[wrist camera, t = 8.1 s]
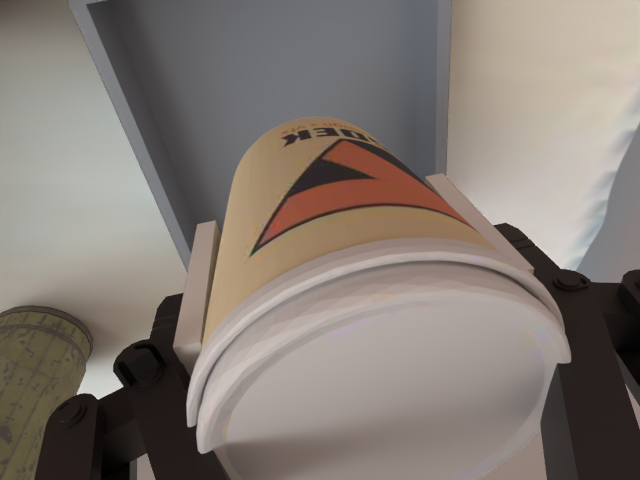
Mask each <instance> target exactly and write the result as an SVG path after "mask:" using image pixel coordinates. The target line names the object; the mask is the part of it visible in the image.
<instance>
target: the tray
mask: <svg viewBox="0 0 640 480" xmlns="http://www.w3.org/2000/svg"><path fill="white" fill-rule="evenodd" d="M67 2H68V4H69V7H70V9H71V11H72V13H73V16H74V18H75V20H76V22H77V25H78V27H79V29H80V31H81V34H82V36H83V38H84V40H85V43H86V45H87V47H88V49H89V52H90V54H91V56H92V58H93V61H94V63H95V65H96V67H97V70H98V72H99V74H100V77H101V79H102V81H103V83H104V86H105V88H106V90H107V92H108V95H109V97H110V99H111V101H112V104H113V106H114V108H115V110H116V113H117V115H118V117H119V119H120V122H121V124H122V126H123V128H124V131H125V133H126V135H127V137H128V140H129V142H130V144H131V147H132V149H133V151H134V153H135V156H136V158H137V160H138V162H139V165H140V167H141V169H142V171H143V174H144V176H145V178H146V180H147V183H148V185H149V187H150V189H151V192H152V194H153V196H154V198H155V201H156V203H157V205H158V207H159V210H160V212H161V214H162V217H163V219H164V221H165V223H166V226H167V228H168V230H169V232H170V235H171V237H172V239H173V241H174V244H175V246H176V248H177V250H178V253H179V255H180V257H181V259H182V262H183V264H184V266H185V268H186V271H187V273H188V268H189V263H190V258H191V253H192V248H193V243H194V238H195V233H196V228H197V224H200V223H205V222H210V221H215V220H216V223H217V226H218V229H219V232H220V234H221V237H222V231H223V226H224V221H225V216H226V211H227V205H228V200H229V195H230V191H231V187H232V182H233V179H234V175H235V172H236V169H237V167H238V165H239V163H240V161H241V159H242V158H243V156H244V155H245V153H246V152H247V150H248V149H249V148H250V147H251V146H252V145H253V143H255V142H256V141H257V140H258V139H259V138H260V137H261V136H262V135H264V134H265V133H266V132H268V131H269V130H271V129H273V128H274V127H276V126H278V125H280V124H282V123H285V122H288V121H291V120H295V119H299V118H304V117H315V116H318V117H330V118H336V119H340V120H343V121H346V122H349V123H351V124H353V125H355V126H357V127H359V128H361V129H363V130H364V131H365V132H367V133H368V134H369V135H371V136H372V137H373V138H375V139H376V140H377V141H378V142H380V143H381V144H382V145H383V146H384V147H385V148H386V149H388V150H389V151H390V152H391V153H392V154H393V155H394V156H395V157H397V158H398V159H399V160H400V161H401V162H402V163H403V164H404V165H406V166H407V167H408V168H409V169H410V170H411V171H412V172H413V173H414V174H416V175H417V176H418V177H419V178H420V179H421V180H422V181H423V182H425V177H426V176H430V175H435V174H440V173H443V174H444V175H445V176H446V162H447V130H448V99H449V67H450V35H451V4H452V0H67Z"/></svg>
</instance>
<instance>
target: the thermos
mask: <svg viewBox="0 0 640 480" xmlns="http://www.w3.org/2000/svg"><path fill="white" fill-rule="evenodd" d="M92 349H93V339H92V337H91V334H90V332H89V330H88V329H87V328H86V327H85V326H84V325H83V324H82V323H81V322H80V321H79V320H77V319H76V318H74V317H72V316H70V315H69V314H67V313H65V312H62V311H58V310H55V309H52V308H48V307H39V306H25V307H16V308H13V309H10V310H7V311H4V312H2V313H1V314H0V480H33V479H34V477H35V473H36V468H37V464H38V459H39V454H40V450H41V445H42V441H43V436H44V431H45V427H46V424H47V421H48V419H49V417H50V415H51V414H52V413H53V412H54V410H55V409H56V408H57V407H58V406H59V405H61V404H62V403H63V402H64V401H66V400H67V399H69V398H71V397H73V396H75V395H76V394H77V392H78V389H79V387H80V384H81V382H82V379H83V377H84V374H85V372H86V362H87V359H88V358H89V356H90V354H91V352H92Z"/></svg>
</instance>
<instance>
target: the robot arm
mask: <svg viewBox="0 0 640 480" xmlns="http://www.w3.org/2000/svg"><path fill="white" fill-rule="evenodd" d="M425 183H426V184H427V185H428V186H429V187H430V188H431V189H432V190H433V191H434V192H435V193H437V194H438V195H439V196H440V197H441V198H442V199H443V200H444V201H445V202H446V203H448V204H449V205H450V206H451V207H452V208H453V209H454V210H455V211H456V212H457V213H459V214H460V215H461V216H462V217H463V218H464V219H465V220H466V221H467V222H468V223H469V224H470V225H471V226H473V227H474V228H475V229H476V230H477V231H478V232H479V233H480V234H481V235H482V236H483V237H484V238H485V239H486V240H487V241H488V242H489V243H490V244H491V245H492V246H493V247H495V248H496V249H497V250H498V251H499V252H500V253H501V254H503V255H505V256H507V257H509V258H511V259H512V260H514V261H515V262H517V263H518V264H520V265H521V266H522V267H524V268H525V269H526V270H528V271H529V272H530V273H531V274H532V275H534V276H535V277H536V278H537V279H538V280H539V281H540V282H541V283H542V284H543V285H544V286H545V288H546V289H547V291H548V292H549V293H550V295H551V296H552V298H553V299H554V301H555V302H556V304H557V306H558V308H559V310H560V313H561V315H562V319H563V323H564V327H565V335H566V337H567V340H568V344H569V347H570V351H571V362H570V363H557V365H556V368H555V371H554V374H553V377H552V380H551V383H550V386H549V389H548V393H547V397H546V400H545V404H544V408H543V412H542V417H541V421H540V426H541V434H542V442H543V450H544V458H545V466H546V474H547V480H640V429H639V426H638V423H637V420H636V417H635V413H634V410H633V407H632V404H631V401H630V398H629V395H628V392H627V389H626V385H627V387H628V388H629V390H630V391H631V393H632V395H633V396H634V398H635V399H636V401H637V403H638V404H639V406H640V270H633V271H628V272H627V273H626V274H624V275H623V278H622V281H621V283H596V282H591V281H590V279H588V278H587V277H585V276H584V275H583V274H580V273H577V272H575V271H571V270H566V269H560V268H559V267H558V266H557V265H556V264H555V263H554V262H553V261H552V260H551V259H550V258H549V257H548V256H547V255H546V254H545V253H544V252H542V251H541V250H540V249H539V248H538V247H537V246H535V244H534V243H533V242H532V241H531V240H530V239H528V237H527V236H526V235H525V234H524V233H522V232H521V231H520V230H519V229H518V228H515V227H513V226H511V225H509V224H507V223H503V224H498V225H492V224H491V223H490V222H489V221H488V220H487V219H486V218H485V217H484V216H483V215H482V214H481V213H480V212H479V211H478V210H477V209H476V207H475V206H474V205H473V204H472V203H471V202H470V201H469V200H468V199H467V198H466V197H465V196H464V195H463V194H462V193H461V192H460V191H459V190H458V189H457V188H456V187H455V186H454V185H453V184H452V183H451V182H450V181H449V179H448V178H447V177H446V176H445V175H444V174H443V173H440V174H435V175H430V176H426V177H425ZM220 242H221V234H220V232H219V229H218V226H217V223H216V220H215V221H210V222H205V223H200V224H197V228H196V233H195V238H194V243H193V248H192V253H191V258H190V263H189V268H188V273H187V278H186V283H185V288H184V293H181V294H177V295H172V296H167V297H165V299H164V300H163V301H162V303H161V304H160V305H159V307H158V308H157V312H156V316H155V321H154V323H153V327H152V331H151V335H150V338H149V339H147V340H141V341H138V342H136V343H133V344H131V345H130V346H128V347H127V348H126V349H124V350H123V351H122V352H121V353H120V354H119V355H118V357H117V358H116V360H115V362H114V365H113V372H114V373H115V374H116V376H117V377H118V379H119V380H120V381H121V383H122V384H123V386H124V387H122V388H121V389H119V390H117V391H115V392H113V393H111V394H109V395H107V396H105V397H103V398H101V399H99V400H97V399H96V398H95V397H94V396H93V395H92V394H86V393H83V394H79V395H75V396H73V397H71V398H69V399H67V400H66V401H64V402H63V403H62V404H61V405H59V406H58V407H57V408H56V409H55V410H54V412H53V413H52V414H51V415H50V417H49V419H48V421H47V424H46V427H45V431H44V436H43V441H42V445H41V450H40V454H39V459H38V464H37V468H36V473H35V478H34V480H137V458H139V457H140V456H142V455H144V454H146V453H147V454H148V457H149V461H150V464H151V467H152V470H153V473H154V476H155V479H156V480H231V479H230V477H229V476H228V474H227V472H226V470H225V469H224V467H223V465H222V464H221V462H220V460H219V459H218V457H217V455H216V454H215V452H214V450H211V451H209V452H207V453H204V454H201V453H200V452H199V451H198V447H197V436H196V432H197V424H198V423H197V424H196V425H195V426H193V427H188V426H187V408H186V403H187V396H188V389H189V385H190V381H191V377H192V373H193V370H194V367H195V364H196V361H197V359H198V357H199V355H200V353H201V350H202V343H203V337H204V331H205V324H206V318H207V312H208V307H209V301H210V296H211V290H212V285H213V280H214V274H215V269H216V263H217V258H218V252H219V247H220ZM625 384H626V385H625Z"/></svg>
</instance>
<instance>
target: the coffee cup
mask: <svg viewBox="0 0 640 480" xmlns="http://www.w3.org/2000/svg"><path fill="white" fill-rule="evenodd" d="M570 362H571V351H570V347H569V344H568V340H567V337H566V335H565V327H564V323H563V319H562V315H561V313H560V310H559V308H558V306H557V304H556V302H555V301H554V299H553V298H552V296H551V295H550V293H549V292H548V291H547V289H546V288H545V286H544V285H543V284H542V283H541V282H540V281H539V280H538V279H537V278H536V277H535V276H534V275H532V274H531V273H530V272H529V271H528V270H526V269H525V268H524V267H522V266H521V265H520V264H518V263H517V262H515V261H514V260H512V259H511V258H509V257H507V256H505V255H503V254H501V253H500V252H499V251H498V250H497V249H496V248H495V247H493V246H492V245H491V244H490V243H489V242H488V241H487V240H486V239H485V238H484V237H483V236H482V235H481V234H480V233H479V232H478V231H477V230H476V229H475V228H474V227H473V226H471V225H470V224H469V223H468V222H467V221H466V220H465V219H464V218H463V217H462V216H461V215H460V214H459V213H457V212H456V211H455V210H454V209H453V208H452V207H451V206H450V205H449V204H448V203H446V202H445V201H444V200H443V199H442V198H441V197H440V196H439V195H438V194H437V193H435V192H434V191H433V190H432V189H431V188H430V187H429V186H428V185H427V184H426V183H425V182H423V181H422V180H421V179H420V178H419V177H418V176H417V175H416V174H414V173H413V172H412V171H411V170H410V169H409V168H408V167H407V166H406V165H404V164H403V163H402V162H401V161H400V160H399V159H398V158H397V157H395V156H394V155H393V154H392V153H391V152H390V151H389V150H388V149H386V148H385V147H384V146H383V145H382V144H381V143H380V142H378V141H377V140H376V139H375V138H373V137H372V136H371V135H369V134H368V133H367V132H365V131H364V130H363V129H361V128H359V127H357V126H355V125H353V124H351V123H349V122H346V121H343V120H340V119H336V118H330V117H318V116H315V117H304V118H299V119H295V120H291V121H288V122H285V123H282V124H280V125H278V126H276V127H274V128H273V129H271V130H269V131H268V132H266V133H265V134H264V135H262V136H261V137H260V138H259V139H258V140H257V141H256V142H255V143H253V145H252V146H251V147H250V148H249V149H248V150H247V152H246V153H245V155H244V156H243V158H242V159H241V161H240V163H239V165H238V167H237V169H236V172H235V175H234V179H233V182H232V187H231V191H230V195H229V200H228V205H227V211H226V216H225V221H224V226H223V231H222V237H221V242H220V247H219V252H218V258H217V263H216V269H215V274H214V280H213V285H212V290H211V296H210V301H209V307H208V312H207V318H206V324H205V331H204V337H203V343H202V350H201V353H200V355H199V357H198V359H197V361H196V364H195V367H194V370H193V373H192V377H191V381H190V385H189V389H188V396H187V403H186V408H187V426H188V427H193V426H195V425H196V424H197V423H198V424H197V432H196V436H197V447H198V451H199V452H200V453H201V454H204V453H207V452H209V451H211V450H214V452H215V454H216V455H217V457H218V459H219V460H220V462H221V464H222V465H223V467H224V469H225V470H226V472H227V474H228V476H229V477H230V479H231V480H478V479H480V478H481V477H483V476H485V475H486V474H488V473H489V472H491V471H493V470H494V469H496V468H497V467H499V466H500V465H502V464H503V463H505V462H506V461H507V460H509V459H510V458H511V457H512V456H514V455H515V454H516V453H518V452H519V451H520V450H522V449H523V448H524V447H525V446H526V445H527V444H528V443H529V442H530V441H531V440H532V439H533V438H534V437H535V436H536V435H537V434H538V433H539V432H540V431H541V426H540V421H541V417H542V412H543V408H544V404H545V400H546V397H547V393H548V389H549V386H550V383H551V380H552V377H553V374H554V371H555V368H556V365H557V363H570Z"/></svg>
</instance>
